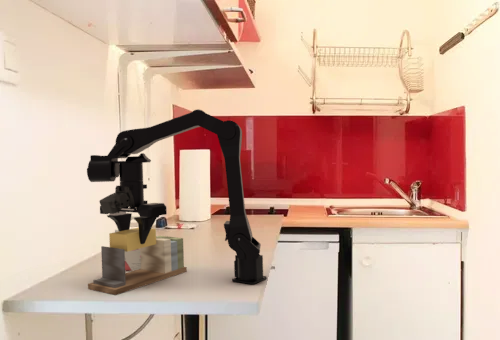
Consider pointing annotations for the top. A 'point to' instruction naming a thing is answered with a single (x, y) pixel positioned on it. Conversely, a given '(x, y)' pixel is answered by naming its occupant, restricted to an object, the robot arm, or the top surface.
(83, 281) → the top surface
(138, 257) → the ink cartridge box
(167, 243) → the brown book holder
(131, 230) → the ochre book
